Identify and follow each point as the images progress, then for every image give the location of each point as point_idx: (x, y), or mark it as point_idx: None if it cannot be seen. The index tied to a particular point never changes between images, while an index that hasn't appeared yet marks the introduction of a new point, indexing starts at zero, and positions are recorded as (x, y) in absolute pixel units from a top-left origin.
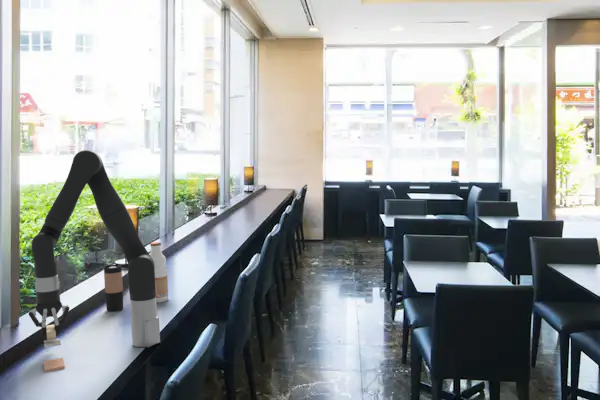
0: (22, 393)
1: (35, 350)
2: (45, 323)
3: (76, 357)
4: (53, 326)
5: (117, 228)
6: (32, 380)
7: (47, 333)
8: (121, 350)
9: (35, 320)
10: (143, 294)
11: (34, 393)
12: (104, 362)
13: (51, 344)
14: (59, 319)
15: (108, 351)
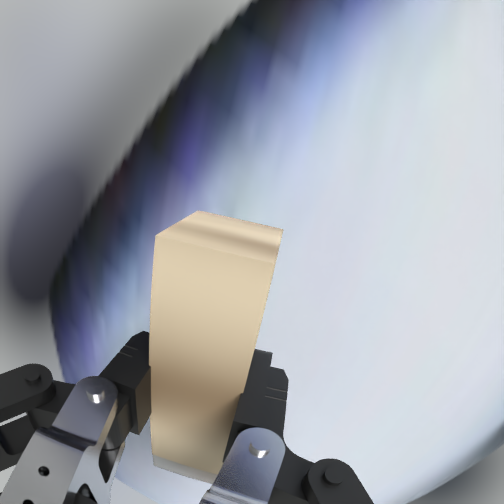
0: (124, 481)
1: (169, 144)
2: (114, 467)
3: (323, 414)
4: (238, 354)
5: None
6: (140, 457)
7: (159, 450)
8: (470, 433)
9: (8, 455)
10: None
11: (148, 496)
12: (365, 485)
13: (188, 474)
14: (288, 498)
15: (444, 423)
